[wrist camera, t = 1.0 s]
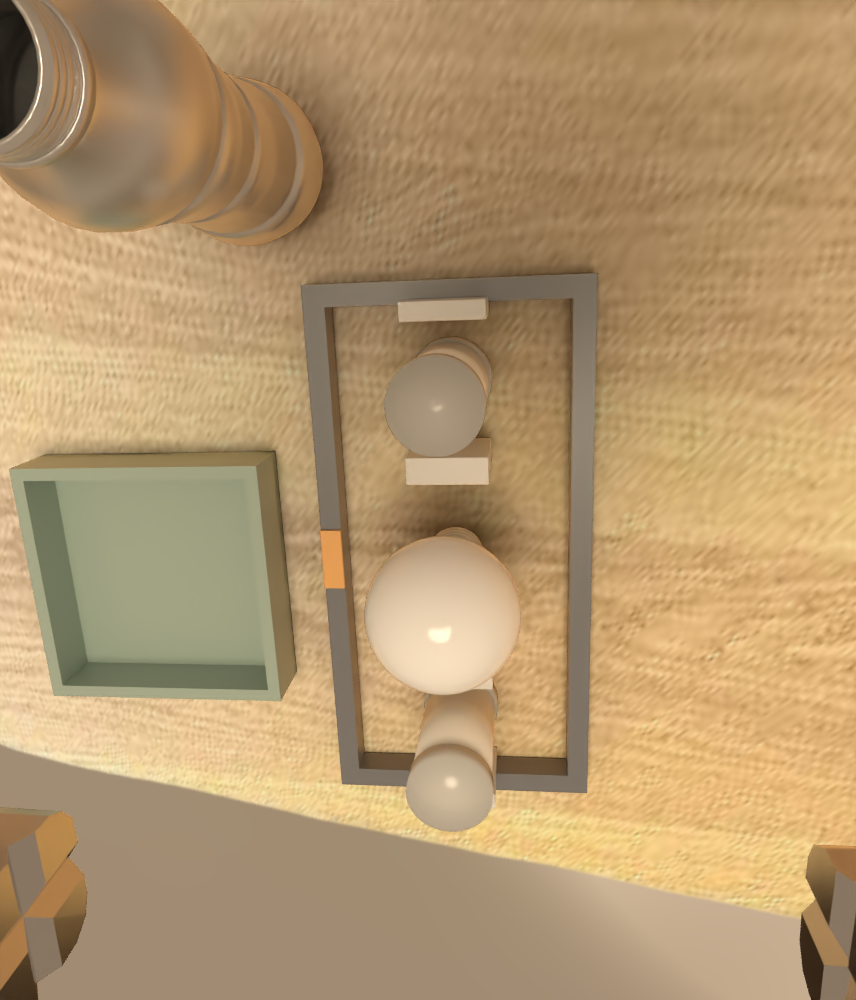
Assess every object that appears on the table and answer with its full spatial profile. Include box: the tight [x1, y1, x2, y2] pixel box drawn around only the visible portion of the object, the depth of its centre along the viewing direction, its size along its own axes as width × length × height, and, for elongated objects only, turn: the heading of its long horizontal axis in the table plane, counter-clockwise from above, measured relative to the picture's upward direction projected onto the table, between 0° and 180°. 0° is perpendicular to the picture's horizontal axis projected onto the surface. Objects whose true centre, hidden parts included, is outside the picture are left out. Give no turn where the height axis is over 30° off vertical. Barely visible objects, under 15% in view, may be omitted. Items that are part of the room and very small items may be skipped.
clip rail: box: [301, 273, 598, 808], centre depth 37 cm, size 26×13×4 cm, turn 2°
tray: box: [9, 451, 297, 701], centre depth 40 cm, size 12×12×3 cm
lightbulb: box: [364, 527, 522, 695], centre depth 34 cm, size 6×6×11 cm
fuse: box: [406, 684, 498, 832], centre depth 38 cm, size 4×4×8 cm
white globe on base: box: [384, 337, 492, 457], centre depth 33 cm, size 4×4×8 cm
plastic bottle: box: [0, 0, 323, 246], centre depth 26 cm, size 6×7×20 cm
